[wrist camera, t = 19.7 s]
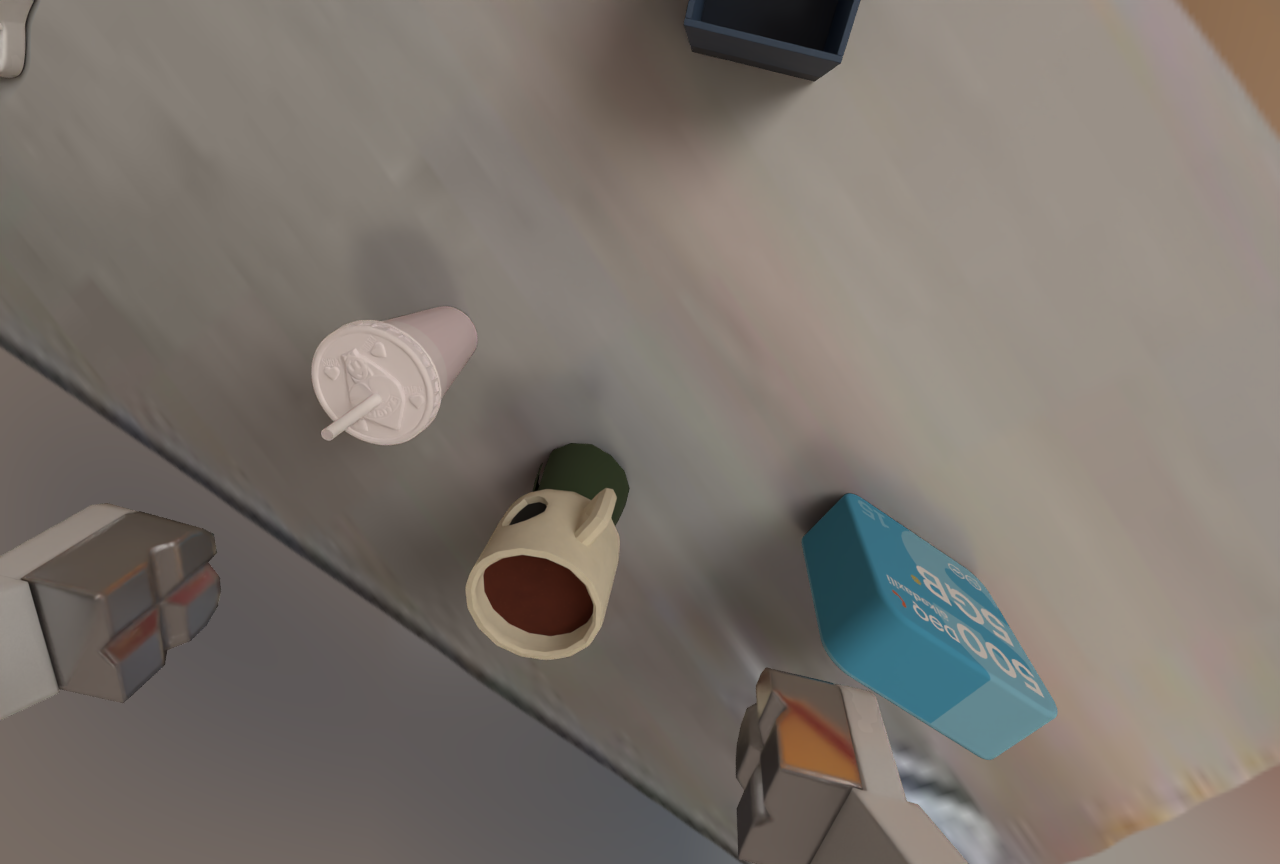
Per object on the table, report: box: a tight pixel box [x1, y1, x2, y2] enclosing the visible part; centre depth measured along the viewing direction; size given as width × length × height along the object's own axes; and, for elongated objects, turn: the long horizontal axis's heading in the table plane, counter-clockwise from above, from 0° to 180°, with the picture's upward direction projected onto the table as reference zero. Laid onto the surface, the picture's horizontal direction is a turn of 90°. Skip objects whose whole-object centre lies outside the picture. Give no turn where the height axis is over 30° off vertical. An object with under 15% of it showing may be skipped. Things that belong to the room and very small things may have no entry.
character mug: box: [465, 443, 629, 660], centre depth 37 cm, size 11×7×13 cm, turn 141°
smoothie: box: [311, 306, 477, 445], centre depth 33 cm, size 6×6×14 cm
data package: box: [802, 493, 1057, 760], centre depth 37 cm, size 12×4×12 cm, turn 57°
